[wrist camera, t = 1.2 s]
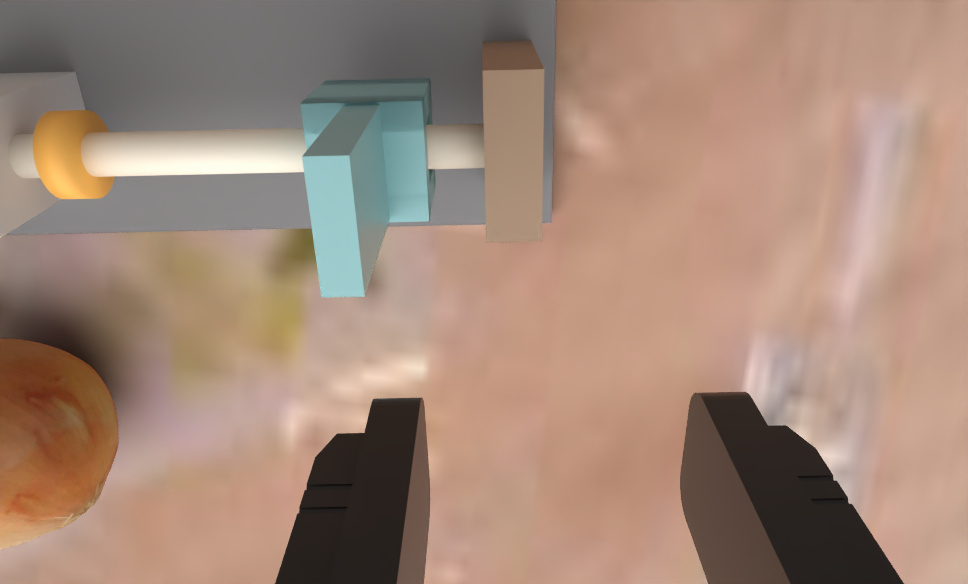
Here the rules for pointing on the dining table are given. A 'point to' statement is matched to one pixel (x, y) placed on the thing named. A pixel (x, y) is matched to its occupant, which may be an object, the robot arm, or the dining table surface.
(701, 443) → the robot arm
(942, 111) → the dining table surface
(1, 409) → the onion
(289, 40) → the grey rod holder stand
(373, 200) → the light blue bracket block
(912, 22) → the dining table surface
